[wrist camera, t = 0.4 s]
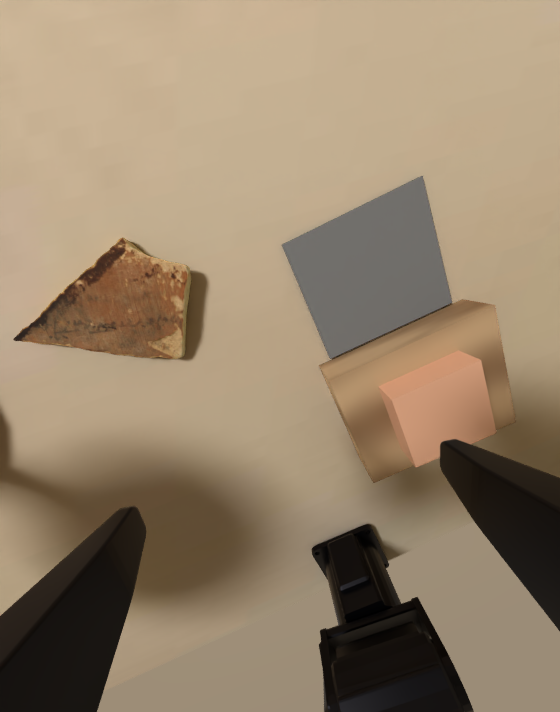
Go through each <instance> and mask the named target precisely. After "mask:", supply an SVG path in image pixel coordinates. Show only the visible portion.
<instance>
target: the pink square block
mask: <svg viewBox="0 0 560 712" xmlns="http://www.w3.org/2000/svg"><path fill="white" fill-rule="evenodd" d="M378 387H379V390H380V393H381V396H382V398H383V401H384V404H385V406H386V409H387V412H388V415H389V417H390V420H391V423H392V425H393V428H394V431H395V433H396V436H397V439H398V442H399V444H400V447H401V450H402V451H403V452H404V453H405V455H406V456H407V457H408V458H409V460H410V461H411V462H412V463H413V465H414V466H415V467H419V466H421V465H423V464H426V463H428V462H430V461H433V460H435V459H437V458H440V444H441V442H442V441H446V440H451V439H457V440H460V441H463V442H465V443H468V444H472V443H474V442H477V441H479V440H481V439H484V438H486V437H488V436H491V435H493V434H495V433H496V428H495V423H494V419H493V414H492V409H491V405H490V400H489V395H488V390H487V386H486V381H485V376H484V371H483V367H482V362H481V360H480V359H478V358H475V357H473V356H471V355H468V354H466V353H464V352H461V351H459V350H458V351H456V352H454V353H451V354H449V355H447V356H445V357H443V358H440V359H438V360H436V361H434V362H431V363H429V364H427V365H425V366H423V367H420V368H418V369H416V370H414V371H411V372H409V373H407V374H405V375H403V376H400V377H398V378H396V379H394V380H392V381H389V382H387V383H385V384H383V385H380V386H378Z"/></svg>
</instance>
